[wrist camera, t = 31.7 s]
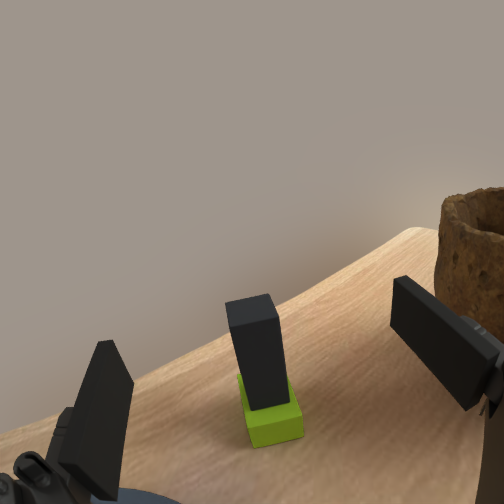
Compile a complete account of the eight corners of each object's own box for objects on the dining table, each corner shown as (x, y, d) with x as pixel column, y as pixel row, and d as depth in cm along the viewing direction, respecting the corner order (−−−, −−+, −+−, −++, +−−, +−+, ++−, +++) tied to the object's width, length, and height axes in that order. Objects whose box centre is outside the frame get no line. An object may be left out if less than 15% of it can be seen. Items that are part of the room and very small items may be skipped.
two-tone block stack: (304, 436, 21) (294, 327, 17) (253, 448, 20) (222, 343, 16) (286, 387, 26) (271, 281, 22) (242, 397, 26) (216, 293, 22)
